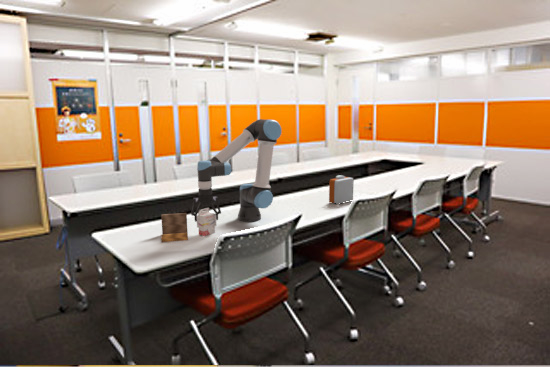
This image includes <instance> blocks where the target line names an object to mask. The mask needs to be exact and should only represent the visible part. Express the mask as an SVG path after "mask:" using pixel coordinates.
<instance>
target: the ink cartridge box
mask: <svg viewBox="0 0 550 367" xmlns="http://www.w3.org/2000/svg"><path fill="white" fill-rule="evenodd" d="M214 214H215V212H214V213H213V212H211V211H210V207H205V208H200V210H199V212H198V214H197V215H198V226H199V227H198V235H199V236H201V237H202V236H203V237H205V236H209V235H212V234H215V233H216V226H215V215H214Z"/></svg>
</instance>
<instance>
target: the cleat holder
mask: <svg viewBox="0 0 550 367" xmlns="http://www.w3.org/2000/svg"><path fill="white" fill-rule="evenodd" d="M161 230H162V231H161V232H162V233H161V234H160V240H161V242H160V243H171V242H183V241H189V240H188V239H189V237H188V216H187V212H181V213H165V214H161Z"/></svg>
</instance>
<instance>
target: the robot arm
mask: <svg viewBox="0 0 550 367" xmlns="http://www.w3.org/2000/svg"><path fill="white" fill-rule="evenodd" d="M281 136H282V127H281V125H280V123H279V121H277V120H275V119H262V118H259V119H256V120H255V121H253V122H252V123H250V124H248V126H246V127H245V128H244V129H243V130H242V133H241V134H240V135H238V136H237V137H236V138H234V139H232V141H231V142H230V143H229V144H227V145H226V146H225V147H224V148H222V149H221V150H220V151H218V152H217V153H216V154H215V155H214V156H213V157H211V158H210V159H206V160H205V159H204V160H199V161H198V162H197V165H196V166H197V169H196V170H197V180H198V182H197V185H198V186H197V188H198V197H193V200H192V201H193V204H192V209H191V213H190V214H191V216H194V222H196V228H198V229H199V226H198V212H199V210H201V209H202V206H203V205H210V207H211V209H212V210H213V212H214V215H215V227H217V221H218V220H219V215H220V214H222V210H221V207H220V205H219V202H218V201H219V198H218V196H213V188H212V187H213V184H212V181H213V180H212V178H215V177H225V176H226V177H227V176H229V175H231V173H232V166H231V164H230V162H229V161H230V160H231V159H232V158H234V157H235V156H236V155H237V154H238V153H239V152H241V150H242V149H244V148H245V147H246V146H248V145H249V144H250V143H254V142H256V140H257V142H258V143H259V147H258V155H257V156H258V157H257V164H256V172H255V180H254V183H253V182H252V183H244V184H241V185H240V186H239V203H240V205H239V206H240V207H239V211H238V214H237V220H239V221H240V222H241V221H242V222H247V223H248V222H257V221H259V220H261V219H262V213H261V211H260V209H267V208H268V207H270V206H271V205H272V203H273V201H274V195H273V194H272V192H271V191H272V190H271V188H272V187H271V185H270V179H271V178H270V176H271V169H272V162H273V161H272V160H273V152H274V147H275V145H277V142H278V141H277V140H278V139H280V137H281ZM213 200H214V201H215V204H216V207H215V206H214V204H213V202H212V201H213ZM198 201H199V204H198V206H197V202H198ZM196 206H197V208H196ZM216 208H217V209H216ZM195 209H196V210H195Z"/></svg>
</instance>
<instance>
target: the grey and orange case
mask: <svg viewBox="0 0 550 367" xmlns="http://www.w3.org/2000/svg"><path fill="white" fill-rule="evenodd" d="M354 182H355V181H354V177H349V176H345V175H342V174H341V175H339V174H338V175H336V176H335V178H330V180H329V186H328V187H329V189H328V192H329V193H328V195H329V197H328V198H329V199H328V202H329V203H330V202H332V203H336V204H339V203H343V202H346V201H350V200H353V201H354ZM332 203H331V204H332ZM336 204H335V205H336ZM339 205H340V204H339Z"/></svg>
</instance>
